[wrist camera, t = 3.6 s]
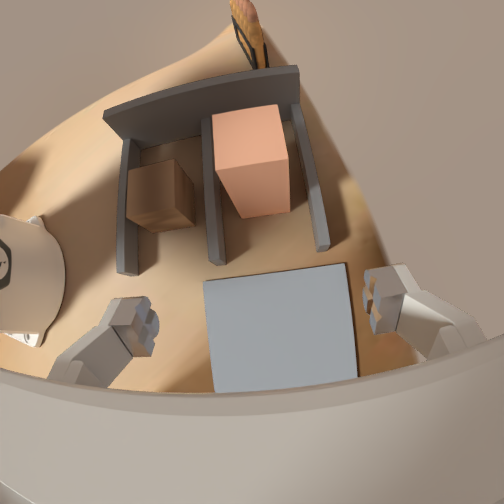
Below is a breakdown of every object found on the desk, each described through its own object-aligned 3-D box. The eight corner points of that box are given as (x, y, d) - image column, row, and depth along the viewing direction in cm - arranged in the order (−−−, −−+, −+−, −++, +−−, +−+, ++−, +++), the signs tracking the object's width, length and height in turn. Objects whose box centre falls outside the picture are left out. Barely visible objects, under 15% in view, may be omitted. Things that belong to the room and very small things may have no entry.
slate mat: (218, 406, 26) (217, 408, 26) (203, 282, 29) (202, 281, 29) (357, 392, 25) (358, 393, 25) (343, 263, 28) (344, 263, 27)
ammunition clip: (270, 73, 34) (260, 3, 22) (257, 76, 34) (243, 6, 22) (247, 35, 36) (235, -24, 24) (236, 38, 36) (221, -21, 25)
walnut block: (153, 233, 31) (126, 217, 25) (153, 192, 32) (128, 170, 26) (195, 226, 31) (174, 207, 25) (193, 183, 32) (174, 158, 26)
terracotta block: (241, 218, 30) (215, 170, 19) (237, 175, 31) (212, 115, 20) (290, 211, 29) (288, 158, 19) (283, 168, 31) (277, 104, 20)
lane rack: (131, 276, 30) (87, 264, 23) (134, 144, 34) (104, 110, 26) (326, 250, 28) (339, 228, 20) (297, 111, 32) (296, 64, 24)
